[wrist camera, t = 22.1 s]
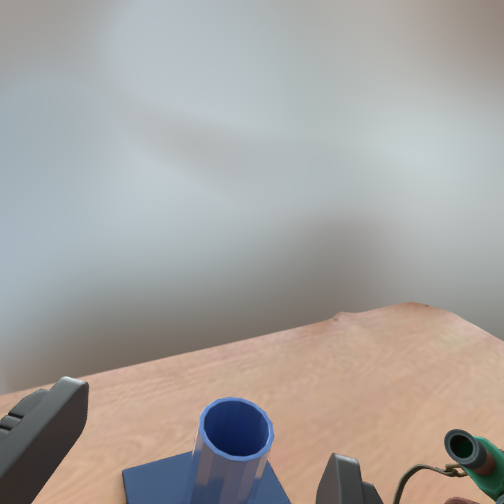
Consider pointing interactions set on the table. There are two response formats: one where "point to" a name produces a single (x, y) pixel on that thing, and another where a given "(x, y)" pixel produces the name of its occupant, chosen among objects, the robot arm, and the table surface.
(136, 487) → the blue mat
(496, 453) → the binoculars
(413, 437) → the table surface
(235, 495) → the blue tumbler
